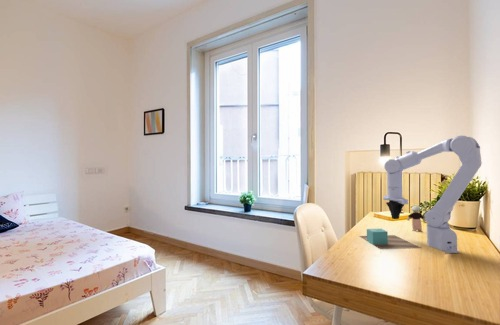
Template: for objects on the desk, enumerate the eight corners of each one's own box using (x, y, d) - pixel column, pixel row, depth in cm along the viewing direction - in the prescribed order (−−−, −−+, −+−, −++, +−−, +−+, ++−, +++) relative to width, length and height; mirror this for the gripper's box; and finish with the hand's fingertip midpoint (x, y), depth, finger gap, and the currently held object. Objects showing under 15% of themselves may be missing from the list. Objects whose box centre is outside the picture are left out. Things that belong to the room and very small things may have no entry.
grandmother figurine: (422, 230, 128) (421, 204, 128) (426, 232, 124) (426, 206, 124) (405, 230, 129) (405, 204, 129) (409, 232, 125) (409, 206, 125)
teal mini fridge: (387, 244, 104) (387, 231, 105) (372, 244, 104) (372, 231, 104) (381, 240, 109) (380, 228, 110) (367, 240, 109) (366, 228, 109)
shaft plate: (421, 251, 99) (421, 239, 99) (380, 252, 99) (379, 241, 99) (394, 237, 117) (394, 228, 117) (359, 238, 117) (358, 229, 117)
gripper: (376, 186, 120) (377, 215, 120) (395, 189, 106) (396, 222, 106) (391, 185, 121) (392, 215, 121) (412, 188, 106) (413, 222, 106)
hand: (395, 218), depth 113 cm, fingers closed
